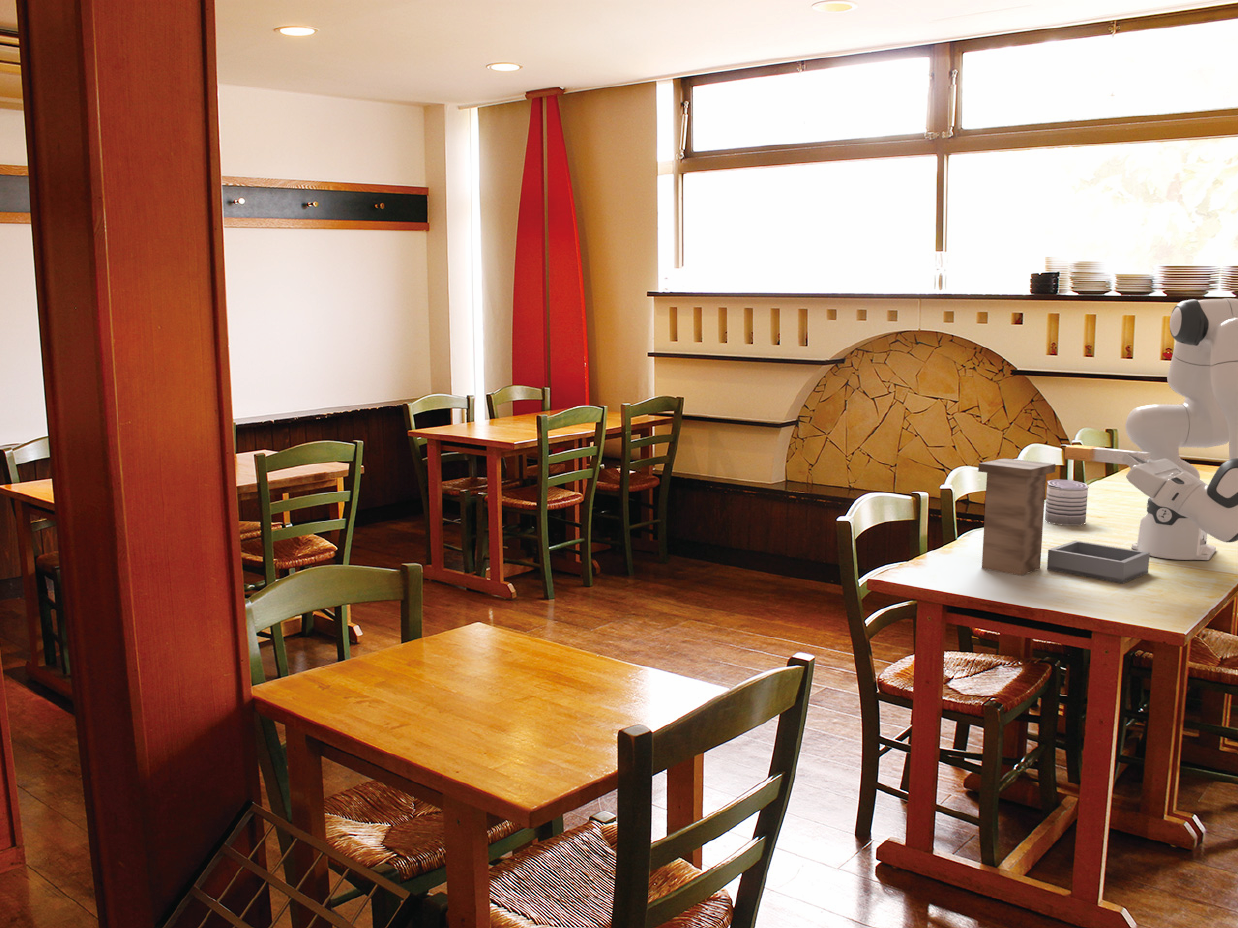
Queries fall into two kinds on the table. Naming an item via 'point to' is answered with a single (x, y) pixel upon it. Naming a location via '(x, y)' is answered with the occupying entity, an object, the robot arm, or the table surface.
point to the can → (1066, 502)
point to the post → (1014, 514)
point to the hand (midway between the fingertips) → (1128, 455)
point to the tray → (1098, 561)
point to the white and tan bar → (1103, 454)
